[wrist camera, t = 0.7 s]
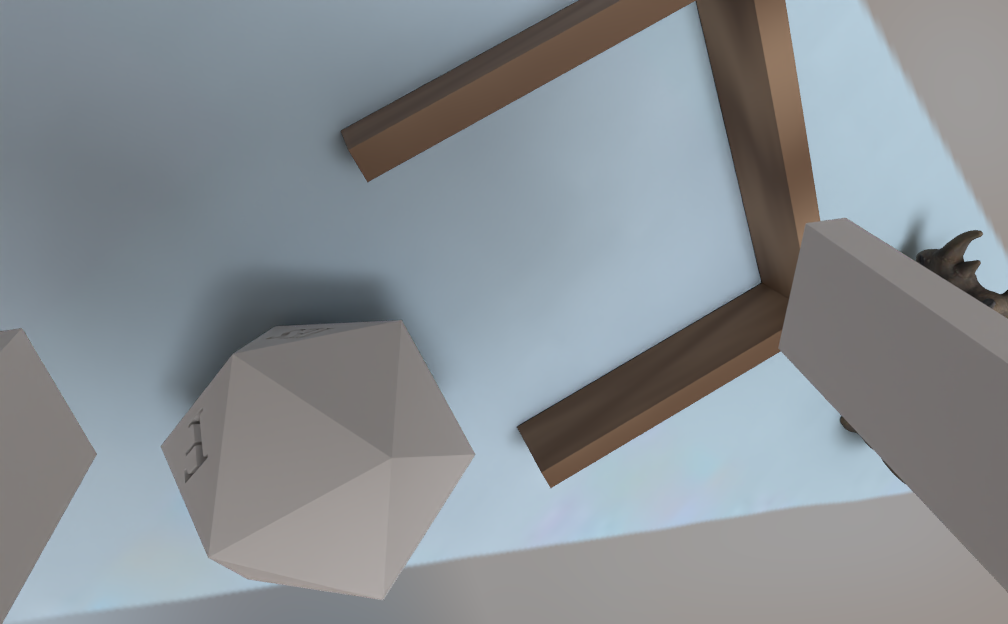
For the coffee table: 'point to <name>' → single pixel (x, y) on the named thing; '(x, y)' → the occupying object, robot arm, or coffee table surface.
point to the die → (319, 457)
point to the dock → (759, 167)
